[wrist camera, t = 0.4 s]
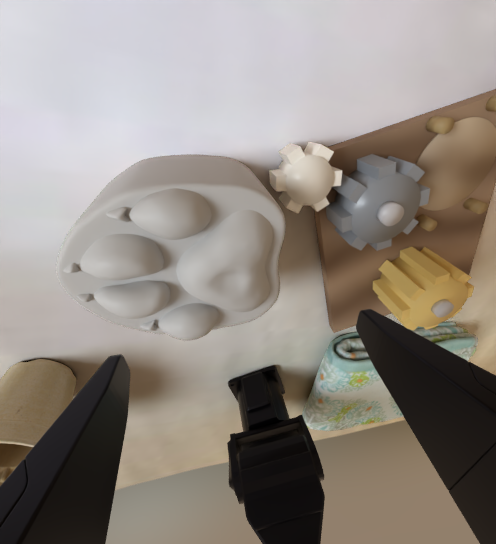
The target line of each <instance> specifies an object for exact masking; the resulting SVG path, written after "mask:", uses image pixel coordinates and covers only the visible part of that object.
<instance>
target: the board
mask: <svg viewBox="0 0 496 544" xmlns="http://www.w3.org/2000/svg"><path fill="white" fill-rule="evenodd" d="M327 148H329V149H330V150H332V151H334V153H333V155H332V156H331V158H330V160H329V161H328V163H329V164H330V166H332V167H335V168H337V169H340V170H342V174H344V175H346V176H349V175H350V174H351V173H353V172H354V171H355V170H357V159H359V158H362V157H365V156H368V155H371V154H374V155H376V156H379V157H382V158H385V159H387V158H388V156H392V157H395V158H398V159H401V160H404V161H407V162H410V163H413V164H415V165H416V166H418V167H419V168H420V169H421V170H423V171H424V172H425V173H424V174H423V176H422V177H421V178H420V179H419V181H418V182H417V183H418V184H421V185H423V186H426V187H428V188H430V193H429V200H428V204H426V205H423V206H420V207H419V208H418V210H417V213H416V215H415V216H414V219H415V220H417V221H418V224H417V225H416V226H415V227H414V228H413V229H412V230H411V232H410V233H409V234H408V235H407V234H406V233H404V232H401V233H399V234H398V235H397V236H395V237H393V238H392V241H391V246H390V247H387V248H384V249H381V250H378V251H377V250H376V249H374V248H373V247H372V246H371V245H370V244H369V243H367V244H366V245H365V247H364V248H363V249H362V250H359V249H357V248H355V247H353V246H351V245H350V244H349V243H348V242H347V241H345V240H344V239H343V238H342V237H341V236H340V235H339V234H338V233H337V232H336V231H335V228H336V226H335V225H334V224H333V223H332V222H330V221H329V220H328V219H327V215H326V207H324V208H323V209H321V210H319V211H318V212H317V211H315V210H314V214H315V221H316V229H317V236H318V243H319V251H320V258H321V266H322V273H323V280H324V288H325V295H326V303H327V310H328V317H329V325H330V327H331V329H332V330H333V332H334V333H335V332H338V331H341V330H343V329H346V328H349V327H352V326H355V325H356V323H357V319H358V315H359V312H360V311H361V310H365V309H372V310H374V311H376V312H378V313H379V314H381V315H383V316H385V315H388V314H391V313H392V312H391V311H390V310H389V309H388V308H387V307H386V306H385V305H384V304H383V302H382V301H381V300H380V299H379V298H378V295H377V294H376V293H375V291H374V290H373V281H374V280H377V279H380V276H381V274H382V272H381V271H380V270H379V268H380V267H381V265H382V264H383V263H384V262H385V261H386V260H388V261H390V262H392V261H393V260H395V259H396V258H398V257H400V250H403V249H406V248H409V247H413V248H415V249H416V250H418V251H419V252H420V251H421V250H422V249H423V248H424V247H426V248H428V249H429V250H431V251H433V252H434V253H436V254H437V255H439V256H440V257H442V258H443V259H445V260H446V261H448V262H449V263H451V264H452V265H454V266H455V267H457V268H458V269H460V270H461V271H463V272H464V273H466V274H467V275H469V273H470V269H471V266H472V262H473V259H474V255H475V252H476V248H477V245H478V241H479V238H480V234H481V231H482V227H483V224H484V220H485V217H486V213H487V210H488V206H489V203H490V199H491V196H492V192H493V189H494V185H495V182H496V89H495V90H492V91H489V92H486V93H483V94H480V95H477V96H474V97H472V98H469V99H466V100H463V101H460V102H457V103H454V104H451V105H448V106H445V107H443V108H440V109H437V110H434V111H431V112H428V113H425V114H422V115H419V116H417V117H414V118H411V119H408V120H405V121H402V122H399V123H396V124H393V125H390V126H388V127H385V128H382V129H379V130H376V131H373V132H370V133H367V134H364V135H361V136H359V137H356V138H353V139H350V140H347V141H344V142H341V143H338V144H335V145H333V146H330V147H327ZM336 194H337V191H336V190H334V189H333V188H332V187H331V190H330V192H329V193H328V195H327V196H326V198H327V200H328V202H329V204H330V203H333V202H335V197H336Z"/></svg>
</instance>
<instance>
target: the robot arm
mask: <svg viewBox="0 0 496 544" xmlns="http://www.w3.org/2000/svg"><path fill="white" fill-rule="evenodd" d="M356 329H357V332H358V334H359V336H360V338H361V341H362V343H363V345H364V347H365V349H366V351H367V353H368V356H369V358H370V360H371V362H372V364H373V366H374V368H375V369H376V371H377V373H378V374H379V376H380V378H381V379H382V381H383V383H384V384H385V386H386V388H387V389H388V391H389V393H390V394H391V396H392V398H393V399H394V401H395V403H396V404H397V406H398V408H399V409H400V411H401V413H402V414H403V416H404V418H405V419H406V421H407V422H408V424H409V426H410V428H411V429H412V431H413V433H414V434H415V436H416V438H417V439H418V441H419V443H420V444H421V446H422V448H423V449H424V451H425V453H426V454H427V456H428V457H429V459H430V461H431V463H432V464H433V465H434V467H435V469H436V471H437V472H438V474H439V476H440V478H441V479H442V481H443V482H444V484H445V486H446V487H447V489H448V490H449V493H450V494H451V496H452V498H453V499H454V501H455V503H456V504H457V506H458V508H459V509H460V511H461V512H462V514H463V516H464V518H465V519H466V521H467V523H468V524H469V526H470V528H471V529H472V531H473V533H474V534H475V536H476V538H477V539H478V541H479V543H480V544H496V375H494V374H492V373H490V372H488V371H486V370H484V369H482V368H480V367H478V366H476V365H475V364H473V363H471V362H468V361H467V360H465V359H463V358H461V357H460V356H458V355H456V354H454V353H452V352H450V351H448V350H447V349H445V348H443V347H441V346H439V345H437V344H435V343H433V342H432V341H430V340H428V339H426V338H424V337H422V336H420V335H419V334H417V333H415V332H413V331H411V330H409V329H407V328H406V327H404V326H402V325H400V324H398V323H396V322H394V321H393V320H391V319H389V318H387V317H385V316H383V315H381V314H379V313H378V312H376V311H374V310H372V309H365V310H361V311H360V312H359V315H358V319H357V323H356ZM228 385H229V388H230V389H231V391H232V393H233V394H234V396H235V398H236V399H237V401H238V403H239V409H240V415H241V421H242V427H243V432H241V433H237V434H235V433H234V434H230V438H231V440H230V441H229V442H228V443H227V444H228V452H229V485H230V487H231V488H232V489H233V490H234V491H235V494H236V496H237V498H238V501H239V504H243V503H244V506H245V512H246V517H247V520H248V522H249V524H250V525H251V527H252V528H253V530H254V531H255V533H256V534H257V536H258V537H259V539H260V540H261V542H262V543H263V544H320V541H321V530H322V520H323V509H324V498H325V497H324V492H323V489H322V486H321V483H320V481H321V480H324V474H323V469H322V465H321V462H320V459H319V456H318V453H317V450H316V447H315V445H314V442H313V440H312V437H311V435H310V433H309V430H308V428H307V425H306V423H305V421H304V418H303V416H302V415H299V416H298V417H295V418H292V419H290V418H289V415H288V412H287V409H286V406H285V402H284V399H283V396H282V394H284V393H285V390H284V388H283V385H282V382H281V379H280V377H279V374H278V371H277V368H276V367H275V366H271V367H268V368H265V369H262V370H259V371H256V372H253V373H251V374H248V375H245V376H242V377H239V378H236V379H233V380H230V381H229V382H228ZM129 386H130V369H129V367H128V365H127V363H126V361H125V359H124V357H123V355H120V354H119V355H114V356H110V357H108V358H107V359H106V361H105V362H104V363H103V364H102V365H101V367H100V368H99V369H98V370H97V371H96V373H95V374H94V375H93V376H92V377H91V379H90V380H89V381H88V382H87V383H86V385H85V386H84V387H83V388H82V389H81V391H80V392H79V393H78V394H77V395H76V397H75V398H74V399H73V400H72V401H71V403H70V404H69V405H68V406H67V407H66V409H65V410H64V411H63V412H62V413H61V415H60V416H59V417H58V418H57V419H56V420H55V422H54V423H53V424H52V425H51V426H50V428H49V429H48V430H47V431H46V432H45V434H44V435H43V436H42V437H41V438H40V440H39V441H38V442H37V443H36V444H35V446H34V447H33V448H32V449H31V450H30V452H29V453H28V454H27V455H26V456H25V459H23V460H22V461H21V462H20V463H19V465H18V466H17V467H16V468H15V469H14V471H13V472H12V473H11V474H10V475H9V476H8V478H7V479H6V480H5V481H4V482H3V483H2V485H1V486H0V544H105V542H106V536H107V530H108V525H109V519H110V514H111V508H112V503H113V497H114V491H115V486H116V480H117V474H118V469H119V463H120V457H121V452H122V446H123V440H124V435H125V429H126V423H127V416H128V402H129Z"/></svg>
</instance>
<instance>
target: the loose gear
mask: <svg viewBox="0 0 496 544" xmlns="http://www.w3.org/2000/svg"><path fill="white" fill-rule="evenodd" d="M379 270H380V271H381V272H382V274H381V276H380V279H377V280H374V281H373V290H374V291H375V293H376V294H377V295H378V298H379V299H380V300H381V301H382V302H383V304H384V305H385V306H386V307H387V308H388V309H389V310H390V311H391V312H392V313H393V314H394V316H395V317H396V318H397V319H398V320H399V321H400V322H401V323H402V324H403V325H404V326H405V327H406V328H407V329H410V330H413V331H414V330H415V329H416V328H417V327H418V326H419V327H424V328H425V329H426V330H427V329H430V328H433V327H436V326H438V324H440V323H442V322H444V321H446V320H447V319H449V318H450V317H453V316H455V315H456V314H457V313H458V312H459V311H460V310H461V309H462V308H461V307H462V306H463V305H464V303H465V301H466V299H467V298H468V297H471V296H472V293H473V289H474V286H472V285H471V284H469V283H468V282H467V281H468V280H469V279H471V278H472V277H470V276H469V275H467V274H466V273H464V272H463V271H461V270H460V269H458V268H457V267H455V266H454V265H452V264H451V263H449V262H448V261H446V260H445V259H443V258H442V257H440V256H439V255H437V254H436V253H434V252H433V251H431V250H429V249H428V248H426V247H424V248H423V249H422V250H421V251H420V252H419V251H418V250H416V249H415V248H413V247H409V248H406V249H403V250H400V257H398V258H396V259H395V260H393V261H392V262H390V261H388V260H386V261H385V262H384V263H383V264H382V265H381V267H380V268H379Z"/></svg>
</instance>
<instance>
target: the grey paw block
mask: <svg viewBox="0 0 496 544" xmlns="http://www.w3.org/2000/svg"><path fill="white" fill-rule="evenodd" d="M285 229H286V222H285V217H284V214H283V212H282V210H281V208H280V206H279V205H278V204H277V202H276V201H275V200H274V198H273V197H272V196H271V195H270V193H269V192H268V191H267V189H266V188H265V187H264V186H263V184H262V183H261V182H260V181H259V179H258V178H257V177H256V176H255V174H254V173H253V172H252V171H251V170H250V169H249V168H248V167H247V166H246V165H244V164H243V163H241V162H239V161H237V160H234V159H231V158H227V157H221V156H207V155H171V156H160V157H153V158H148V159H144V160H142V161H139V162H137V163H135V164H134V165H132V166H131V167H129V168H127V169H126V170H125V171H123V172H122V173H120V174H119V175H118V176H116V177H115V178H114V179H113V180H112V181H111V182H109V183H108V184H107V185H106V187H105V188H104V189H103V190H102V191H101V193H100V194H99V195H98V196H97V197H96V199H95V200H94V201H93V202H92V203H91V205H90V206H89V207H88V208H87V209H86V211H85V212H84V213H83V214H82V215H81V217H80V218H79V219H78V220H77V221H76V223H75V224H74V225H73V227H72V228H71V229H70V231H69V232H68V234H67V236H66V237H65V239H64V241H63V244H62V246H61V248H60V251H59V254H58V258H57V264H56V271H57V277H58V279H59V282H60V284H61V285H62V287H63V289H64V290H65V292H66V293H67V294H68V295H69V296H70V297H71V298H72V299H73V300H74V301H75V302H76V303H78V304H79V305H80V306H82V307H83V308H85V309H86V310H88V311H89V312H91V313H93V314H95V315H97V316H98V317H100V318H102V319H104V320H106V321H109V322H111V323H114V324H117V325H120V326H123V327H127V328H131V329H136V330H140V331H145V332H150V333H155V334H167V335H169V336H171V337H174V338H176V339H179V340H194V339H198V338H200V337H203V336H205V335H206V334H208V333H209V332H210V331H211V330H213V329H218V328H223V327H229V326H234V325H239V324H243V323H246V322H249V321H252V320H255V319H257V318H258V317H260V316H261V315H263V314H264V313H265V312H266V311H268V310H269V309H270V308H271V307H272V306H273V304H274V303H275V302H276V300H277V298H278V295H279V291H280V280H279V272H278V261H279V255H280V251H281V248H282V244H283V241H284V236H285Z"/></svg>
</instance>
